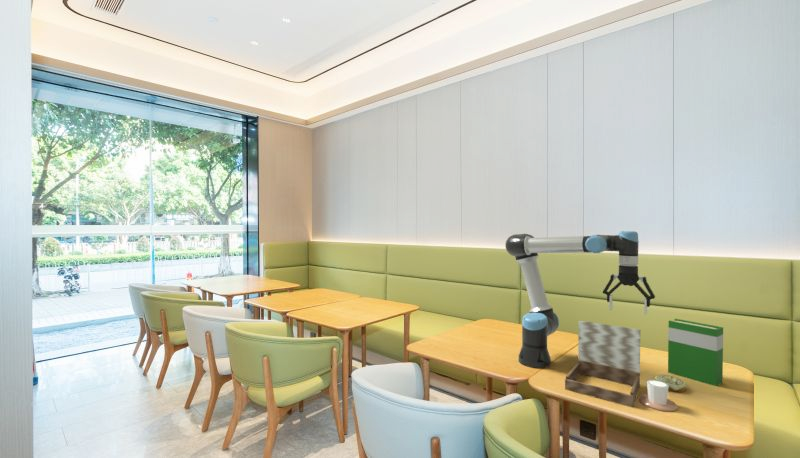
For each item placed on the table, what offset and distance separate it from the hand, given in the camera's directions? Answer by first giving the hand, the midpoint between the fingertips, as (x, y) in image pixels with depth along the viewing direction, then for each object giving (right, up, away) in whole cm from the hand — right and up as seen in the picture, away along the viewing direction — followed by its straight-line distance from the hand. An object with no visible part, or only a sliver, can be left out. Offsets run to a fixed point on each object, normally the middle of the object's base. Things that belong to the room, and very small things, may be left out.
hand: (627, 311), depth 168 cm
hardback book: (+28, -29, -3) cm, 40 cm away
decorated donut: (+10, -29, -13) cm, 34 cm away
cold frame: (-19, -29, -14) cm, 37 cm away
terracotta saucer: (-5, -29, -27) cm, 40 cm away
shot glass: (-5, -29, -27) cm, 40 cm away
